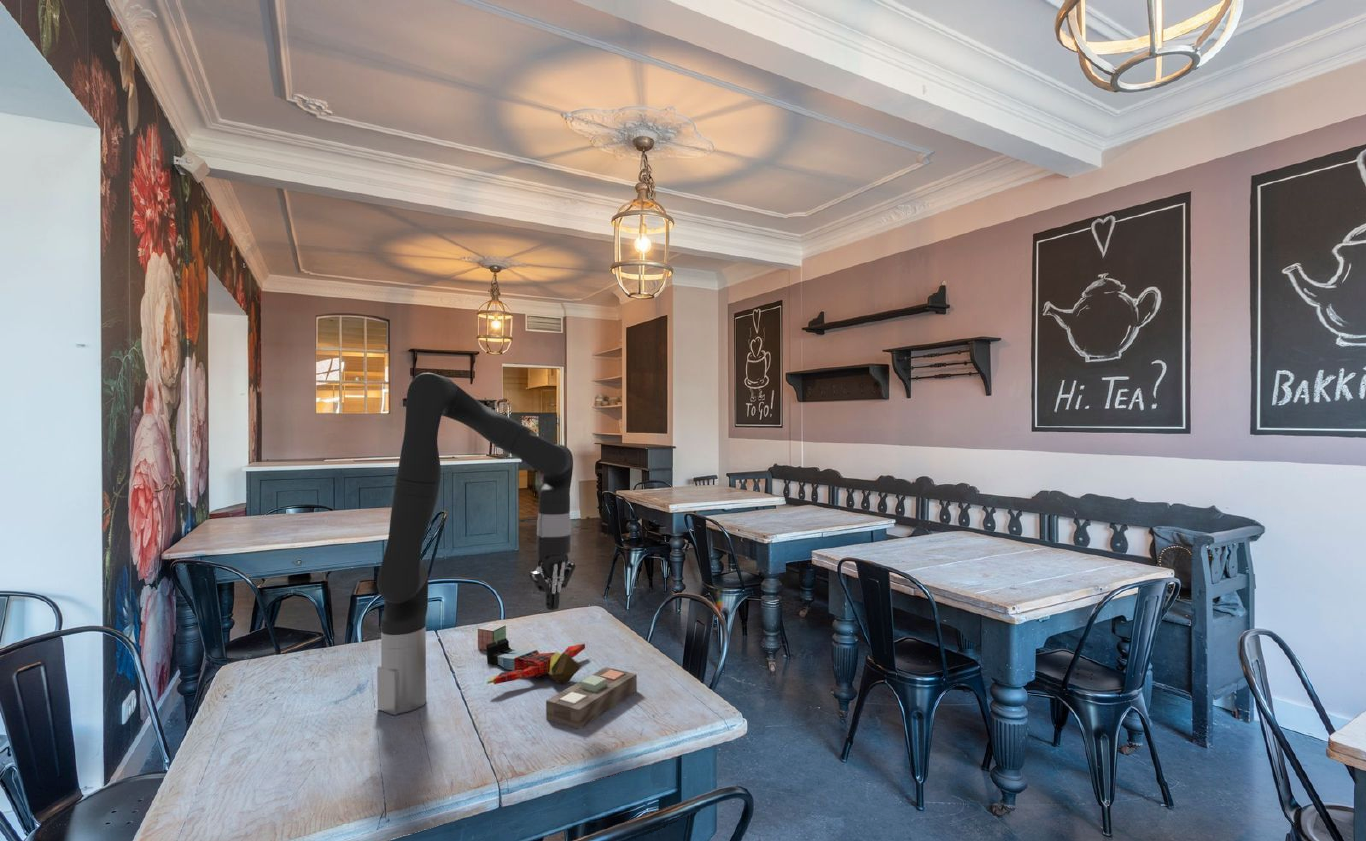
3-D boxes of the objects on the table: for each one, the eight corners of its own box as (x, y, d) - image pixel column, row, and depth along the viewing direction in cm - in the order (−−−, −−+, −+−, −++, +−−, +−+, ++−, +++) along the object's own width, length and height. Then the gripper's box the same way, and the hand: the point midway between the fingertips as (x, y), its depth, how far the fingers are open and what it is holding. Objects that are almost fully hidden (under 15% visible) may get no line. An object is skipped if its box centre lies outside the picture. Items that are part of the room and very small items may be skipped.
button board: (579, 729, 130) (578, 709, 130) (546, 719, 134) (546, 700, 134) (636, 691, 148) (636, 674, 148) (606, 683, 152) (606, 666, 152)
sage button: (595, 698, 138) (594, 685, 138) (580, 694, 140) (580, 681, 140) (606, 691, 142) (606, 678, 142) (592, 688, 144) (592, 675, 144)
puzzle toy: (506, 645, 180) (506, 625, 180) (493, 651, 175) (493, 631, 175) (490, 642, 182) (490, 622, 182) (477, 649, 177) (477, 628, 177)
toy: (446, 690, 156) (523, 710, 138) (444, 658, 157) (520, 674, 139) (543, 653, 181) (619, 666, 163) (541, 626, 181) (616, 636, 163)
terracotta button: (614, 692, 144) (614, 679, 144) (600, 688, 146) (600, 675, 146) (624, 685, 148) (624, 673, 148) (610, 682, 150) (610, 669, 150)
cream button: (574, 717, 132) (574, 702, 132) (559, 712, 134) (559, 698, 134) (586, 709, 136) (586, 695, 136) (572, 705, 138) (572, 691, 138)
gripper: (561, 527, 150) (560, 599, 150) (520, 534, 139) (518, 613, 139) (585, 530, 146) (584, 604, 146) (545, 538, 135) (543, 619, 135)
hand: (552, 608), depth 142 cm, fingers closed
